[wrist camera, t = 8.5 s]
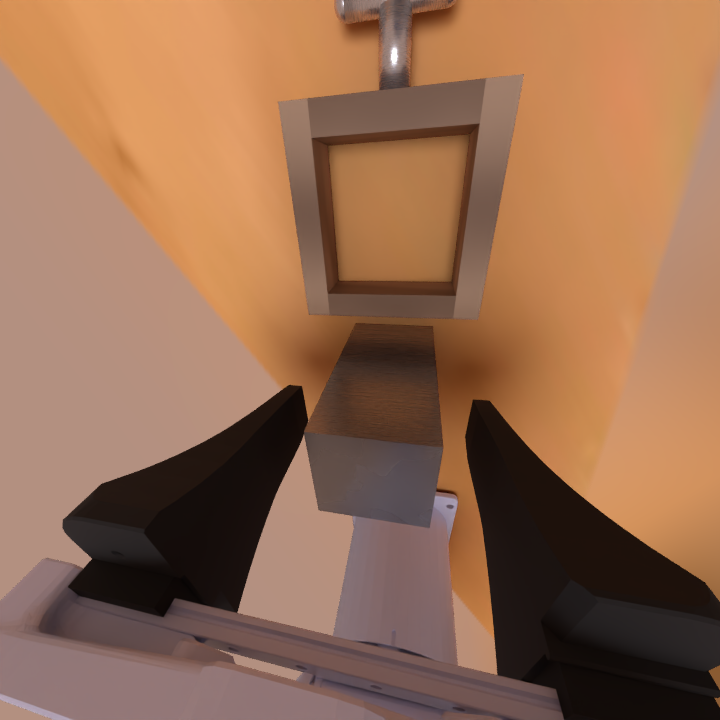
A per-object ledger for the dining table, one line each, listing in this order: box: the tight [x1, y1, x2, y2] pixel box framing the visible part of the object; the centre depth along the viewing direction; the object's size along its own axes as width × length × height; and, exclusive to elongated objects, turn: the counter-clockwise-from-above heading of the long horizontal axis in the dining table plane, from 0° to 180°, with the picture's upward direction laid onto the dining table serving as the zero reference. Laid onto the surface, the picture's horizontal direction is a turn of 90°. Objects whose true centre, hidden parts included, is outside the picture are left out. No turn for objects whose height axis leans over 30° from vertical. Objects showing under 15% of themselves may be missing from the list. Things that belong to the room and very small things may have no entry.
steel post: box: [304, 323, 443, 528], centre depth 12 cm, size 4×4×8 cm
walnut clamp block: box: [278, 0, 524, 320], centre depth 11 cm, size 10×7×2 cm
